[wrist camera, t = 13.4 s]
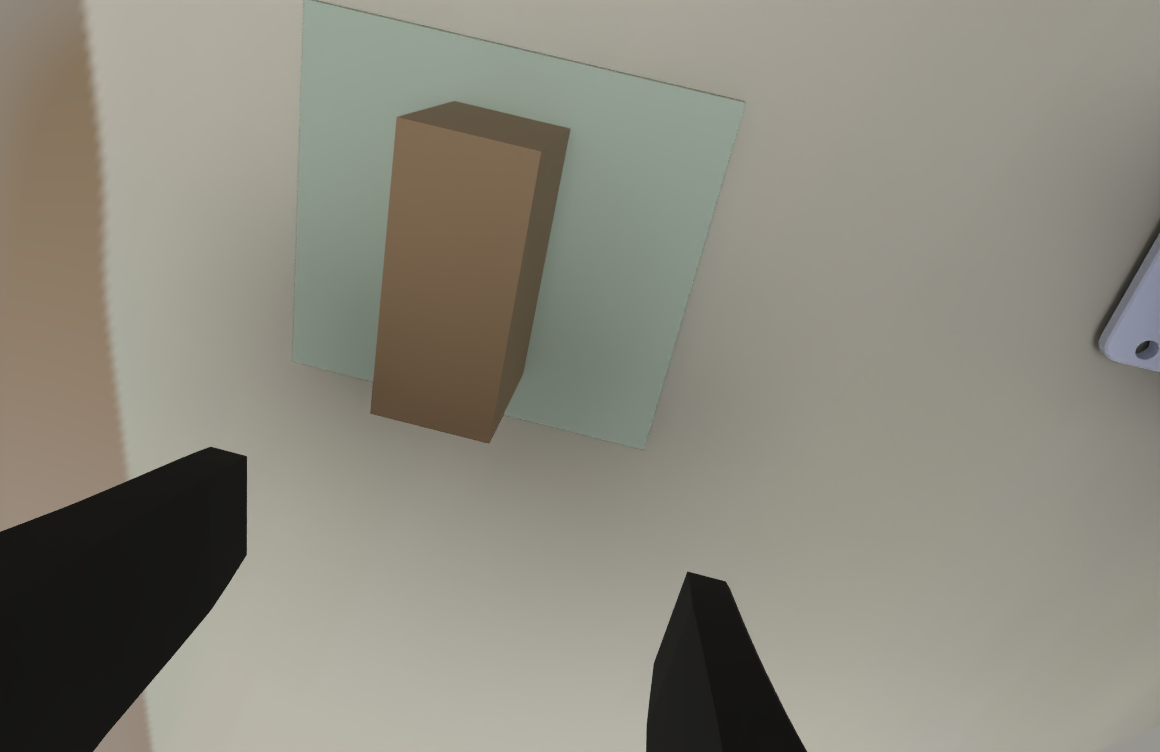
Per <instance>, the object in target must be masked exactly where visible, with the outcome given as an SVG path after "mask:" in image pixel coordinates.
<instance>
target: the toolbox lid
mask: <svg viewBox="0 0 1160 752" xmlns="http://www.w3.org/2000/svg"><path fill="white" fill-rule="evenodd" d="M745 104H746V103H745V101H741V100H737V99H733V98H729V97H724V96H720V95H716V94H712V93H707V92H703V91H699V90H695V89H690V88H686V87H682V86H678V85H673V84H669V83H665V82H661V81H656V80H652V79H648V78H644V77H639V76H635V75H631V74H627V73H622V72H618V71H614V70H610V69H605V68H601V67H597V66H593V65H588V64H584V63H580V62H576V61H571V60H567V59H563V58H559V57H554V56H550V55H546V54H542V53H537V52H533V51H529V50H525V49H520V48H516V47H512V46H508V45H503V44H499V43H495V42H491V41H486V40H482V39H478V38H474V37H469V36H465V35H461V34H457V33H452V32H448V31H444V30H440V29H435V28H431V27H427V26H423V25H418V24H414V23H410V22H406V21H401V20H397V19H393V18H389V17H384V16H380V15H376V14H372V13H367V12H363V11H359V10H355V9H350V8H346V7H342V6H338V5H333V4H329V3H325V2H321V1H316V0H304V1H303V34H302V66H301V98H300V130H299V163H298V195H297V227H296V259H295V292H294V324H293V356H292V362H295V363H299V364H303V365H307V366H311V367H315V368H319V369H323V370H327V371H331V372H335V373H339V374H343V375H347V376H351V377H355V378H359V379H363V380H367V381H371V382H373V390H372V401H371V412H370V413H371V414H374V415H378V416H382V417H386V418H390V419H394V420H398V421H402V422H406V423H410V424H414V425H418V426H422V427H426V428H430V429H434V430H438V431H441V432H445V433H449V434H453V435H457V436H461V437H465V438H469V439H473V440H477V441H481V442H485V443H490V441H491V439H492V437H493V435H494V433H495V431H496V429H497V427H498V425H499V423H500V421H501V419H502V417H503V415H506V416H509V417H513V418H517V419H521V420H525V421H529V422H533V423H537V424H541V425H545V426H549V427H553V428H557V429H561V430H565V431H569V432H573V433H577V434H581V435H585V436H589V437H593V438H597V439H601V440H605V441H609V442H613V443H617V444H621V445H625V446H628V447H632V448H636V449H640V450H644V448H645V445H646V441H647V438H648V435H649V431H650V428H651V424H652V421H653V418H654V414H655V411H656V407H657V404H658V400H659V397H660V394H661V390H662V387H663V383H664V380H665V377H666V373H667V370H668V366H669V363H670V360H671V356H672V353H673V349H674V346H675V343H676V339H677V336H678V332H679V329H680V325H681V322H682V319H683V315H684V312H685V308H686V305H687V302H688V298H689V295H690V291H691V288H692V285H693V281H694V278H695V274H696V271H697V268H698V264H699V261H700V257H701V254H702V250H703V247H704V244H705V240H706V237H707V233H708V230H709V227H710V223H711V220H712V216H713V213H714V210H715V206H716V203H717V199H718V196H719V193H720V189H721V186H722V182H723V179H724V175H725V172H726V169H727V165H728V162H729V158H730V155H731V152H732V148H733V145H734V141H735V138H736V135H737V131H738V128H739V124H740V121H741V118H742V114H743V111H744V107H745Z"/></svg>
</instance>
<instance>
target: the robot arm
mask: <svg viewBox="0 0 1160 752" xmlns="http://www.w3.org/2000/svg"><path fill="white" fill-rule="evenodd" d="M1145 341H1150V344H1149V347H1148V348H1147V349H1146V350H1145V351H1143V352H1141V353H1135V352H1136V348H1137V347H1138V346H1139V345H1140V344H1141V343H1143V342H1145ZM1099 350H1100V351H1101V352H1102V353H1103V355H1105V356H1106V357H1107V358H1109V359H1110V360H1112V361H1115V362H1117V363H1122V364H1126V365H1130V366H1135V367H1139V368H1143V369H1147V370H1152V371H1156V372H1160V233H1159V235H1158V237H1157V238H1156V240H1155V242H1154V244H1153V245H1152V247H1151V249H1150V251H1149V252H1148V254H1147V256H1146V258H1145V259H1144V261H1143V263H1142V265H1141V266H1140V268H1139V270H1138V272H1137V273H1136V275H1135V277H1134V279H1133V280H1132V282H1131V284H1130V286H1129V287H1128V289H1127V291H1126V293H1125V294H1124V296H1123V298H1122V300H1121V301H1120V303H1119V305H1118V307H1117V308H1116V310H1115V312H1114V314H1113V315H1112V317H1111V319H1110V321H1109V322H1108V324H1107V326H1106V328H1105V329H1104V331H1103V333H1102V335H1101V337H1100V340H1099ZM246 555H247V456H244V455H240V454H236V453H232V452H228V451H224V450H221V449H217V448H213V447H209V448H206V449H204V450H201V451H198V452H196V453H193V454H190V455H188V456H186V457H183V458H181V459H178V460H176V461H174V462H171V463H169V464H166V465H164V466H162V467H159V468H157V469H155V470H152V471H150V472H148V473H145V474H143V475H141V476H139V477H136V478H134V479H132V480H129V481H127V482H124V483H122V484H120V485H117V486H115V487H113V488H110V489H108V490H105V491H103V492H101V493H98V494H96V495H93V496H91V497H89V498H86V499H84V500H82V501H79V502H77V503H74V504H72V505H69V506H67V507H64V508H62V509H59V510H57V511H54V512H52V513H49V514H46V515H43V516H41V517H38V518H35V519H33V520H31V521H28V522H25V523H22V524H20V525H17V526H15V527H12V528H9V529H7V530H4V531H1V532H0V752H93V751H94V750H95V748H96V747H97V746H98V744H99V743H100V742H101V741H102V739H103V738H104V737H105V735H106V734H107V733H108V732H109V731H110V729H111V728H112V727H113V726H114V725H115V724H116V722H117V721H118V720H119V719H120V718H121V716H122V715H123V714H124V713H125V712H126V711H127V709H128V708H129V707H130V706H131V705H132V703H133V702H134V701H135V700H136V699H137V698H138V696H139V695H140V694H141V693H142V692H143V691H144V689H145V688H146V687H147V686H148V685H149V683H150V682H151V681H152V680H153V679H154V678H155V676H156V675H157V674H158V673H159V672H160V670H161V669H162V668H163V667H164V666H165V665H166V663H167V662H168V661H169V660H170V659H171V658H172V656H173V655H174V654H175V653H176V652H177V650H178V649H179V648H180V647H181V646H182V644H183V643H184V642H185V641H186V640H187V638H188V637H189V636H190V635H191V634H192V632H193V631H194V630H195V629H196V628H197V626H198V625H199V624H200V623H201V622H202V620H203V619H204V618H205V617H206V615H207V614H208V613H209V612H210V611H211V609H212V608H213V606H214V605H215V603H216V602H217V600H218V599H219V597H220V596H221V594H222V593H223V591H224V590H225V588H226V587H227V585H228V584H229V582H230V581H231V579H232V577H233V576H234V574H235V573H236V571H237V569H238V568H239V566H240V565H241V563H242V561H243V560H244V558H245V557H246ZM646 752H807V751H806V749H805V747H804V745H803V743H802V742H801V740H800V738H799V736H798V734H797V733H796V731H795V729H794V727H793V725H792V723H791V721H790V719H789V717H788V716H787V714H786V712H785V710H784V708H783V706H782V704H781V702H780V700H779V698H778V696H777V694H776V692H775V690H774V688H773V685H772V683H771V681H770V679H769V677H768V675H767V673H766V671H765V669H764V667H763V665H762V663H761V660H760V658H759V656H758V654H757V652H756V649H755V647H754V645H753V643H752V640H751V638H750V636H749V634H748V631H747V629H746V627H745V624H744V622H743V619H742V617H741V615H740V612H739V610H738V607H737V605H736V602H735V600H734V598H733V595H732V593H731V590H730V588H729V586H728V585H727V583H726V582H725V581H722V580H718V579H714V578H710V577H706V576H702V575H699V574H695V573H691V572H687V574H686V577H685V580H684V582H683V585H682V588H681V591H680V593H679V596H678V599H677V602H676V604H675V607H674V610H673V613H672V615H671V618H670V621H669V624H668V626H667V629H666V632H665V635H664V637H663V640H662V643H661V645H660V648H659V651H658V654H657V656H656V659H655V662H654V668H653V676H652V684H651V692H650V701H649V710H648V719H647V741H646Z"/></svg>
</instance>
